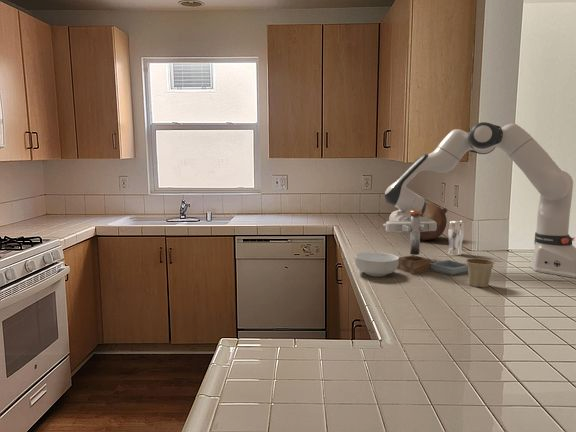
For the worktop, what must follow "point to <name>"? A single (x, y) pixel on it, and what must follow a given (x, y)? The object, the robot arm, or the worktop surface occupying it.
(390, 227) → the robot arm
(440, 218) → the jug
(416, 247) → the pin
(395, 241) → the worktop surface
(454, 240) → the beer glass
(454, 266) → the tray
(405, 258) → the socket block
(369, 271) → the cereal bowl
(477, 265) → the flower pot
